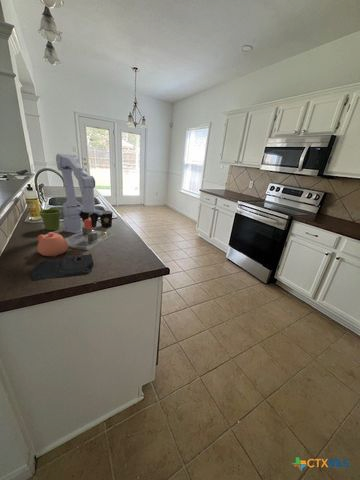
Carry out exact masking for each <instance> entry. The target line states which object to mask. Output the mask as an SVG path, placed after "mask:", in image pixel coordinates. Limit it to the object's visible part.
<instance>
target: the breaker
mask: <svg viewBox="0 0 360 480" xmlns="http://www.w3.org/2000/svg"><path fill="white" fill-rule="evenodd" d="M91 230H92V229H86V228H85V227H84V226H83V227H82V231H81V232H83V234H88V233H90V232H91Z"/></svg>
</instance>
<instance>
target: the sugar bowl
mask: <svg viewBox="0 0 360 480" xmlns="http://www.w3.org/2000/svg"><path fill="white" fill-rule="evenodd" d="M37 240H38V241H37V242H38V243H37V252H38V253H39V254H40V255H42V256H45V257H57V256H59V255H62V254H64V253H65V252H67V250H68V249H69V247H68V244H67V242H66V240H65V237H64V236H63V235H61V234H60V233H55V232H54V231H50V232H47V233H46V234H39V235H37Z"/></svg>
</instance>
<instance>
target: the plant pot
mask: <svg viewBox="0 0 360 480" xmlns="http://www.w3.org/2000/svg"><path fill="white" fill-rule="evenodd" d="M61 212H62V210H61V209H56V208H48V209H47V208H46V209H41V210H38V212H37V213H38V214H39V216H40V217H41V220H42V222H43V224H44V228H45V230H47V231H56V230H59V229H60V219H61V217H60V216H61Z"/></svg>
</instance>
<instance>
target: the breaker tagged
mask: <svg viewBox="0 0 360 480" xmlns="http://www.w3.org/2000/svg"><path fill="white" fill-rule="evenodd" d="M95 239H97V232H90V233H88V240H92V241H93V240H95Z"/></svg>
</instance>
